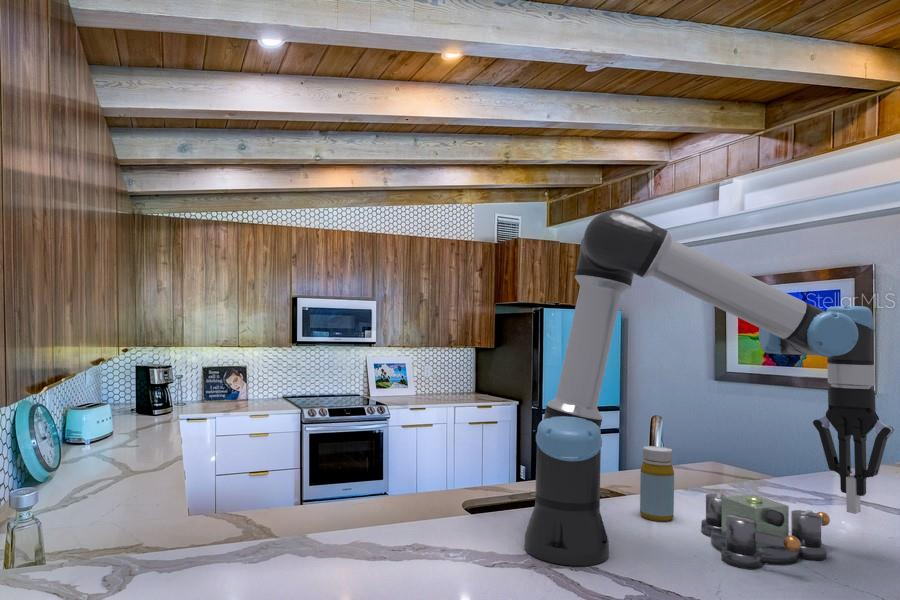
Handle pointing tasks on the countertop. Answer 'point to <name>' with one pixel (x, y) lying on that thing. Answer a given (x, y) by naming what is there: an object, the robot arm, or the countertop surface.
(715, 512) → the foot screw
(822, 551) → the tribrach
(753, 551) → the foot screw
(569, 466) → the robot arm
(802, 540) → the foot screw
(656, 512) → the bottle
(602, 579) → the countertop surface
